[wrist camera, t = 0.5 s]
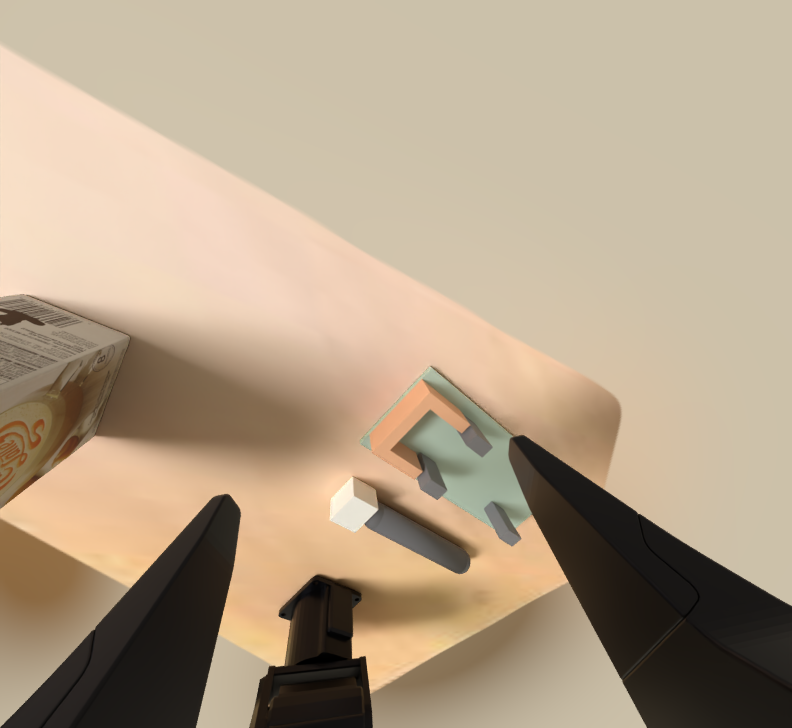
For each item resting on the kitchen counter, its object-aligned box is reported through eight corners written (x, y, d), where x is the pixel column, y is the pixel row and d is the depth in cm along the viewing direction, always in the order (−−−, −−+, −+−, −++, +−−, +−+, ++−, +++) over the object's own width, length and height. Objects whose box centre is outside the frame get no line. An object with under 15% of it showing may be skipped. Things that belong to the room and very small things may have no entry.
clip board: (503, 532, 34) (523, 567, 30) (359, 440, 26) (362, 471, 23) (564, 479, 32) (592, 509, 29) (430, 365, 25) (445, 386, 21)
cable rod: (452, 563, 34) (459, 584, 32) (330, 499, 28) (330, 520, 26) (471, 545, 34) (481, 565, 32) (352, 476, 28) (353, 496, 26)
